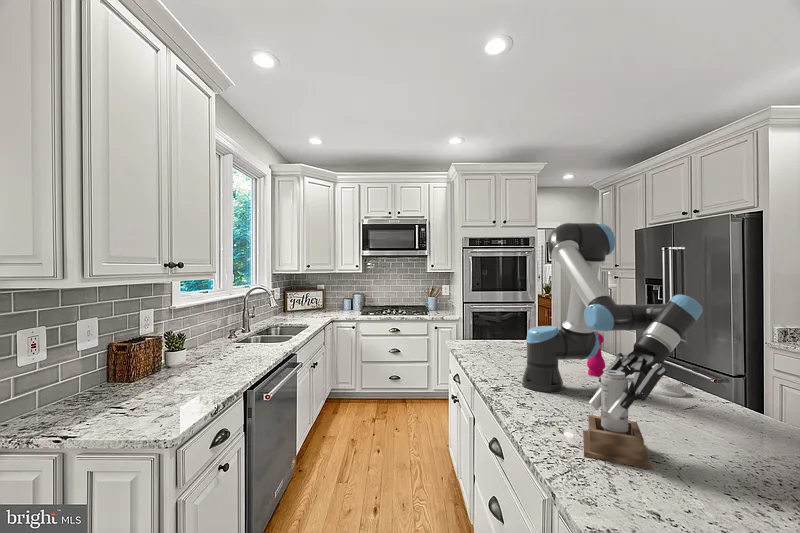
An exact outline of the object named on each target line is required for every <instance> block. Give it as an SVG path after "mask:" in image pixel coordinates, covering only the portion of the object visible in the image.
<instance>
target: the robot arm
mask: <svg viewBox="0 0 800 533" xmlns="http://www.w3.org/2000/svg"><path fill="white" fill-rule="evenodd" d="M615 246H616V238H615V234H614V232H613V230H612V228H611V227H610V226H608V225H607V224H605V223H596V222H595V223H594V222H592V223H591V222H587V223H586V222H584V223H583V222H581V223H577V222H575V223H572V222H567V223H563V224H560V225H558V226H556V227H555V228H554V229H553V230H552V231H551V232H550V234H549V236H548V239H547V249H548V253H549V254H550V257H551V258H552V260H553V261H555V262H557V263H558V264H559V265H560V267H561V268H562V270H563V271H564V274H565V275H566V277H567V279H568V280H569V282H570V283H571V287H570V294H569V301H568V307H567V308H568V310H567V316H566V320H565V321H563V322H562V324H561V329H559V328H558V327H557V326H555V325H554V326H553V325H539V326H534V327H531V328H529V329H528V331H527V333H526V334H527V335H526V339H525V342H526V367H525V370H524V372H523V376H522V378H521V384H522V386H523V387H524V388H526V389H529V390H531V391H536V392H544V393H555V392H556V393H557V392H560V391H562V390H564V381H563V378H562V375H561V373H560V369H559V360H562V361H563V360H579V361H581V360H585V359H586V360H588V359H590V358H592V357H594V356H595V355H596V353H597V352H598V349H599V340H598V335H597V333H596V332H595V331H594V330H598V332H600V331H601V332H610V331H643V333H642V335H641V336H640V337H639V338H638V339H637V340H636V341H635V343H634V344H633V350H632V352H629V354H626V355H625V354H623V353H622V352H619V353H618V354H617V356H616V357H615V359H614V360H613V362H611V364H610V365H609V366H608V367H606V369H605V370H616V371H621V372H624V373H625V376H626V378H627V377H628V376H632V375H633V374H634V375H633V378H632V379H631V382H630V385H629V386H628V390H626V392H627V393H628V395H627V394H626V393H625V392H623V393H622V395H621V396H620V397H619V398H618V400H617V401H616V402H615V403H614V405H613V406H612V407H611V408H610V410H609V411H608V413H609V414H610V415H611V416H612V417H613V418H614V419H615V420H617V419H618V418H619V417H620V416H621V414H622V413H623V412H624V410H625V409H626V410H627V409H628V410H629V408H630V407H631V406H632V404H633V403H634V402H635V401H637V400H640V401H642V402H644V401H646V400H647V398H648V397H649V395H650V394H651V392H652V391H654V387H655V386H657V382H658V381H659V380H661V379H662V378H663V377H664V376H665V375H666V374H668V371H667V369H666V368H665V367H664V366H663V365H662V364H664V362H665V361H667V358H669V356H671V353H672V352H673V351H674V350H675V348H676V347H677V346H678V344H679V343H680V342H682V341H681V340H683V338H684V337H685V336H686V335H687V334H688V333H689V332H690V330H691V328H693V326H694V325H695V324H696V323H697V322H698V319H699V318H700V317H701V315H702V313H703V307H702V305H701V304H700V303H699V302H698V301H697V300H696V299H695V298H692V297H691V296H689V295H684V294H675V295H674V296H672V297H671V298H670V299H669V300H668V302H666V303H658V304H657V303H656V304H653V303H652V304H651V303H650V304H649V303H648V304H644V303H642V304H641V303H638V304H617V303H616V302H615V300H614V299H613V297H612V296H611V295H610V294H609V292H608V291H607V290H606V288H605V287H604V285H603V283H601V282H602V281H601V280H600V279H599V273H600V265H602V264H603V263H605V261H606V257H607V256H608V255H611V254H612V253H613V251H614V250H615ZM602 375H603V374H602ZM602 375H601V376H602ZM601 376H600V377H598V381H599V380H600V381H601ZM588 404H589V405H590V406H591V407H592V408H593V409H594V410H595V411H598V409H599V408H601V385H599V386H598V388H597V390H596V391H595V394H594V395H593V396H592V398H591V399H590V400H589V401H588Z"/></svg>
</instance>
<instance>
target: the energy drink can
mask: <svg viewBox="0 0 800 533" xmlns="http://www.w3.org/2000/svg"><path fill="white" fill-rule="evenodd" d="M603 371H604V373H603V375H602V376H601V383H600V386H601V406H600V408H601V409H600V411H601V412H600V413H601V415H600V417H601V426H602V427H603V428H604V431H608V432H614V433H620V434H626V432H627V431H628V421H629V408H628V409H627V410H626V409H625V410H624V412H623V413H622V414H621V416H620V417H619V418H618V419H617V420H615V419H614V418H613V417H612V416H611V415H610V414H609V413H608V411H609V410H610V408H611V407H612V406H613V405H614V403H615V402H616V401H617V400H618V398H619V397H620V396H621V395H622V393H623V392H625V393H626V394H627V395H628V393H627V392H626V390H628V389H629V380H628V378H627V377H626V376H625V373H624V372H621V371H616V370H606V369H603Z"/></svg>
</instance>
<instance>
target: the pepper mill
mask: <svg viewBox="0 0 800 533" xmlns="http://www.w3.org/2000/svg"><path fill="white" fill-rule="evenodd" d="M594 331H595V332H596V333H597V335H598V340H599V349H598V352H597V353H596V355H595V356H594V357H592V358H590V359H586V360H587V361H586V366H587V367H588V369H587V374H588V375H589V376H592V377H598V378H599V377H600V376H601V375H602V374H603V373H604V370H605V368H606V361H605V360H604V358H603V354H602V348H603V343H604V340H605V338H604V335H602V334H601V333H599V331H598V330H594Z"/></svg>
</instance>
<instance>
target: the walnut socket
mask: <svg viewBox="0 0 800 533" xmlns="http://www.w3.org/2000/svg"><path fill="white" fill-rule="evenodd" d="M587 418H588V422H587V424H588V425H587V426H588V428H587V429H588V430H584V429H583V430H582V434H583V435H582V436H583V438H582V439H583V457H587V458H593V459H597V460H602V461H607V462H612V463H617V464H623V465H628V466H633V467H638V468H644V469H649V470H651V469H652V463H651V460H650V457H649V455H648V452H647V450H646V447H645V440H644V439H645V438H644V437H643V435H642V432H641V429H640V427H639V424H638V422H637V421H631V420H628V431H627V432H626V434H620V433H614V432H608V431H604V428H603V427H602V426H601V416H598V415H592V414H588V417H587Z"/></svg>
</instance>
